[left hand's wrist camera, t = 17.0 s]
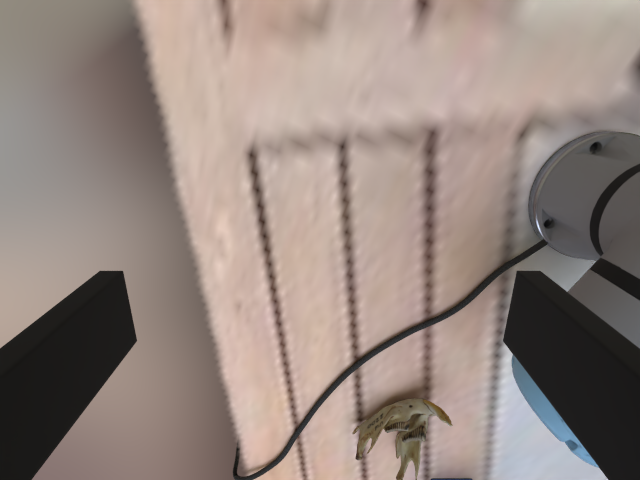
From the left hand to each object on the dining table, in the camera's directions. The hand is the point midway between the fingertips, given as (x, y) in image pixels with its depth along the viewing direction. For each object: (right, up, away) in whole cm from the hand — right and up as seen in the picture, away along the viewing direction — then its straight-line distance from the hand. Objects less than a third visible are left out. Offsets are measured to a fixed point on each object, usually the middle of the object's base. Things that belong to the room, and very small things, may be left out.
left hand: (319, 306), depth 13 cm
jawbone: (+12, -24, +45) cm, 53 cm away
